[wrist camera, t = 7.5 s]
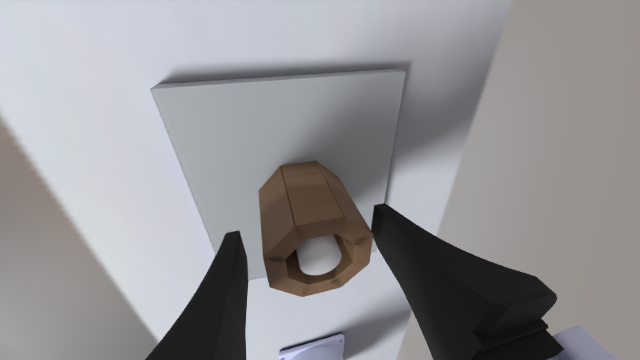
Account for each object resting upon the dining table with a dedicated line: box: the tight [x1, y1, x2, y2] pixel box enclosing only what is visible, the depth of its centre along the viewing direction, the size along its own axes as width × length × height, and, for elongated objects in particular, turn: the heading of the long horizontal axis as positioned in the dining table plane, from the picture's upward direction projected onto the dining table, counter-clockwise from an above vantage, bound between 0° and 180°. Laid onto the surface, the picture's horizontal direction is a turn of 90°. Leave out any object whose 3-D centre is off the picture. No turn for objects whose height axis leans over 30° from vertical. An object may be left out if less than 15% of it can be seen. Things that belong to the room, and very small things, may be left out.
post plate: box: [150, 68, 406, 281], centre depth 13 cm, size 14×12×6 cm
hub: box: [258, 161, 373, 297], centre depth 13 cm, size 5×5×5 cm
